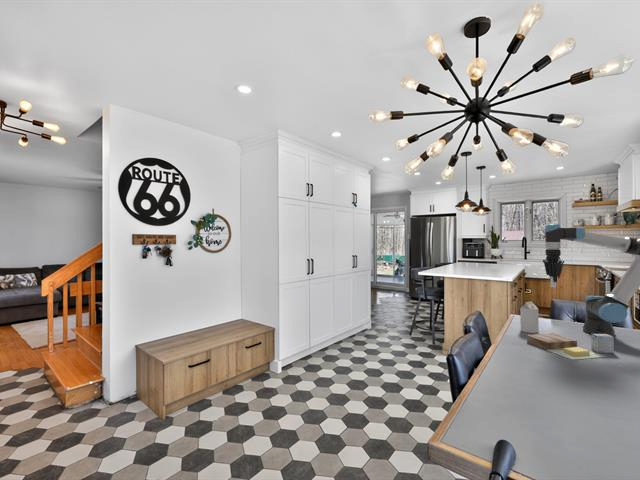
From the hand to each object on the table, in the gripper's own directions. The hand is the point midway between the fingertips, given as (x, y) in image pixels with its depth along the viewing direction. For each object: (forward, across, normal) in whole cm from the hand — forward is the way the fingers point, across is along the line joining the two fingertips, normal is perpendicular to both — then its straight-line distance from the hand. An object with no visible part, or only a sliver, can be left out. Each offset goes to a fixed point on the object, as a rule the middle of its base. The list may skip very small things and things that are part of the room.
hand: (553, 287), depth 194 cm
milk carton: (+30, -9, -9) cm, 32 cm away
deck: (+29, +16, -18) cm, 38 cm away
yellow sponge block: (+27, +30, -18) cm, 45 cm away
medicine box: (+30, +30, -2) cm, 42 cm away
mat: (+29, +30, -18) cm, 46 cm away
